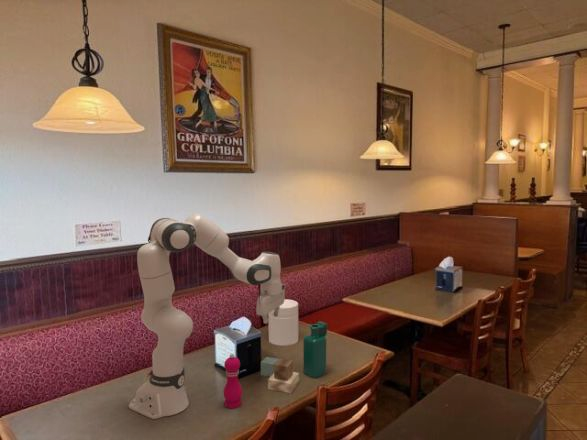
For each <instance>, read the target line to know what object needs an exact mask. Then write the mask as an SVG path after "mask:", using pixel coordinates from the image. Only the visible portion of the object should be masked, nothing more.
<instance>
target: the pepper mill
mask: <svg viewBox="0 0 587 440" xmlns="http://www.w3.org/2000/svg"><path fill="white" fill-rule="evenodd" d="M223 366H224V368H225V375H226V377H227V378H226V379H227V380H226V384H225V386H224V388H223V392H222V395H223V398H224V405H225V407H226V408H229V409H235V408H238V407H240V406H241V404H242V398H241V397H242V395H243V388H242V386H241V383H240V382H239V374H240V367H241V362H240V359H239V358H238V357H237V356H235V354H234V353H230V355H229V357H228V358H227V359H225V361H224V365H223Z"/></svg>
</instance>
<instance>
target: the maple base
mask: <svg viewBox="0 0 587 440" xmlns="http://www.w3.org/2000/svg"><path fill="white" fill-rule="evenodd" d="M299 383H300V373H299V372H295V371H293V375H292V376H291V377H290V379H289V380H288V381H286V380H280V379H275V378H274V374H273V375H272V376H271V377H269V378H268V379H267V389H268V390H271V391H276V392H282V393H286V394H292V392H293V391H294V390H295V388H296V387H297V386H298V384H299Z"/></svg>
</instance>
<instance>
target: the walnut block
mask: <svg viewBox="0 0 587 440" xmlns="http://www.w3.org/2000/svg"><path fill="white" fill-rule="evenodd" d="M278 359H279V360H278V361H277V362H276V363H275V364H274V378H275V379H280V380H286V381H288V380H289V379H290V377H291V376H292V375H293V372H294V361H293V360H291V359H286V358H285V359H283V358H278Z"/></svg>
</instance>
